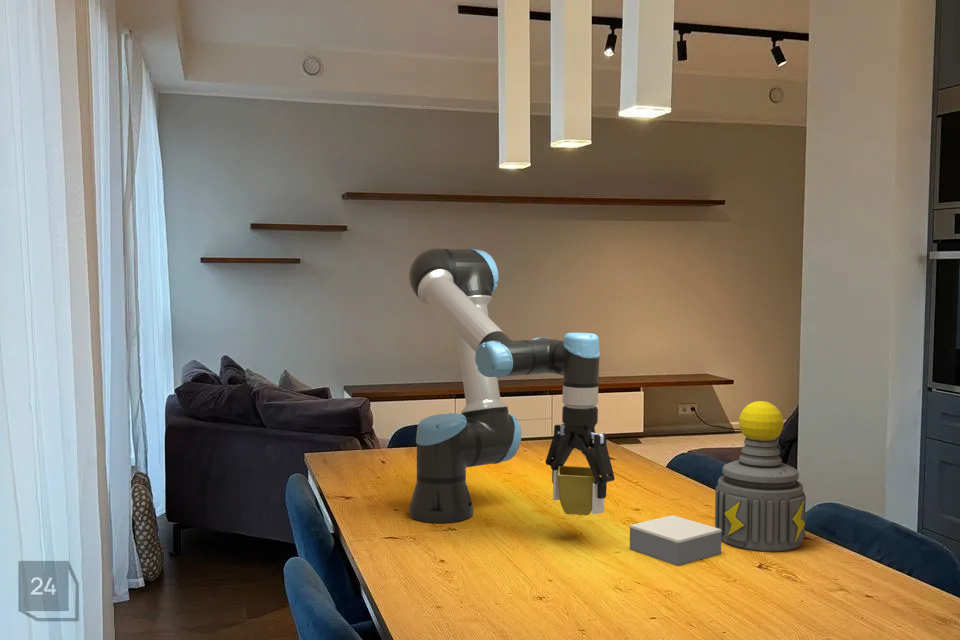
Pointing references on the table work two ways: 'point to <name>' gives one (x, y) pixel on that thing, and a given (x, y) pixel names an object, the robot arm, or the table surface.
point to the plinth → (675, 539)
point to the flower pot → (575, 489)
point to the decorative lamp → (760, 489)
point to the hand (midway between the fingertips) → (577, 506)
